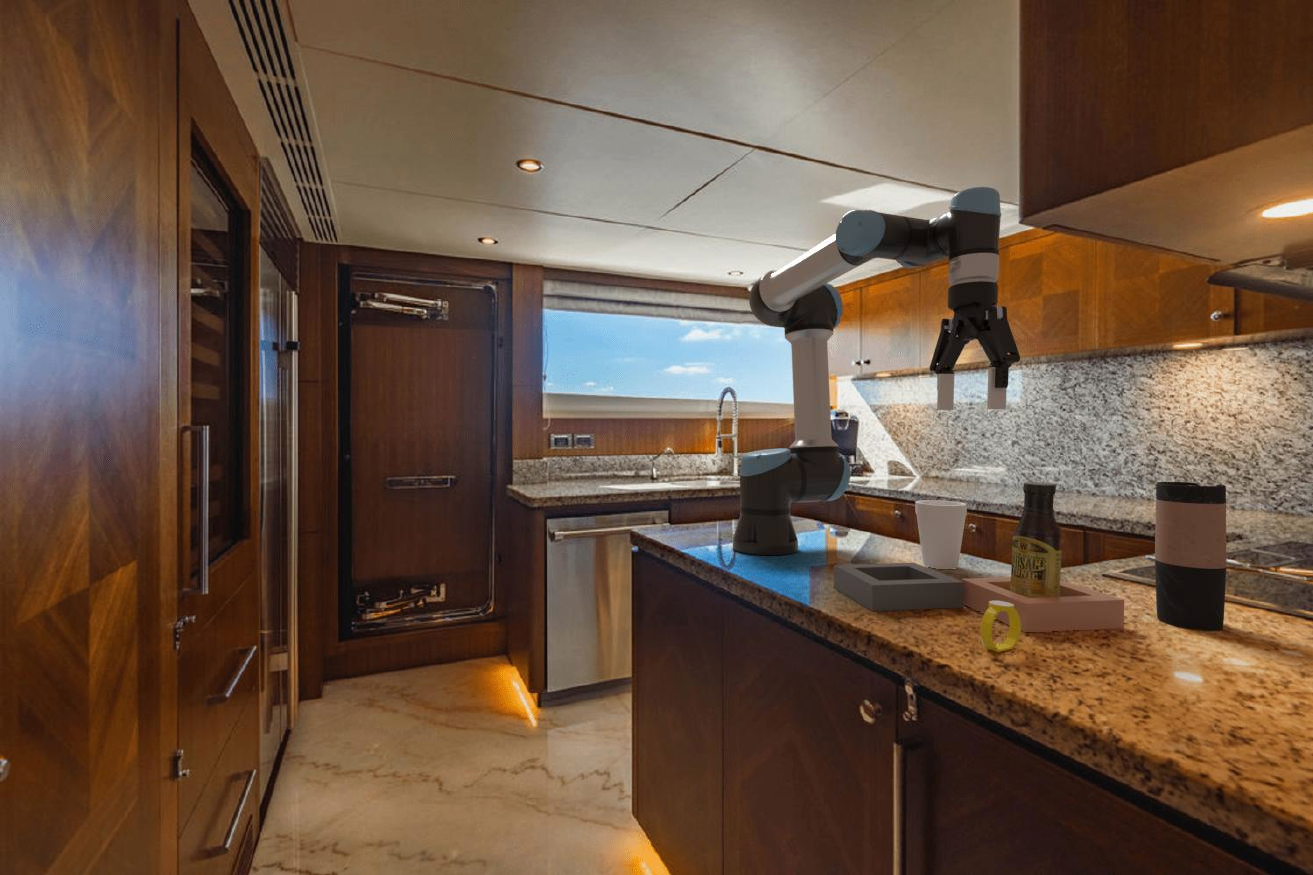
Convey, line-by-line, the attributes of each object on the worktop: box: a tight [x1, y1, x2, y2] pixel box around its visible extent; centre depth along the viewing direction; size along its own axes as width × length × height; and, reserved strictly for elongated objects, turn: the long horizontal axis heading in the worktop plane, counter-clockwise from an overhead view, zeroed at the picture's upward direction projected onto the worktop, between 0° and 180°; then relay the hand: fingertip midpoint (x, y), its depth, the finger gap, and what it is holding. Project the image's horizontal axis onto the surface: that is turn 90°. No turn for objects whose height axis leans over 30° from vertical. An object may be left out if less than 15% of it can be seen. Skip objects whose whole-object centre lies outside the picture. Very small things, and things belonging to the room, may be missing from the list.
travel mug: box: [1154, 481, 1227, 632], centre depth 85 cm, size 8×8×20 cm
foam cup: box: [914, 499, 968, 570], centre depth 121 cm, size 10×9×13 cm
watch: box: [979, 601, 1022, 653], centre depth 75 cm, size 6×3×6 cm, turn 115°
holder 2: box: [960, 576, 1125, 633], centre depth 89 cm, size 14×15×4 cm
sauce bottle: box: [1010, 481, 1063, 598], centre depth 89 cm, size 7×6×20 cm
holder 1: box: [833, 562, 964, 612], centre depth 99 cm, size 14×15×4 cm
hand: (969, 409), depth 102 cm, fingers open, 13 cm apart
